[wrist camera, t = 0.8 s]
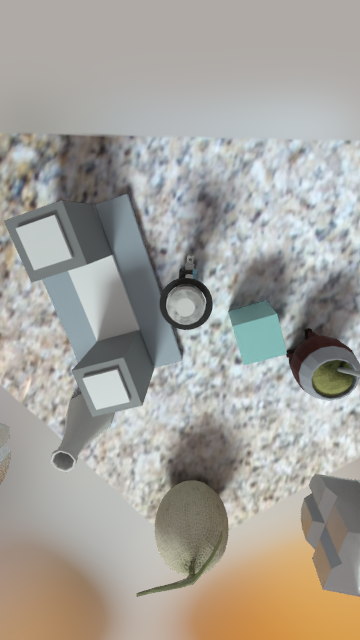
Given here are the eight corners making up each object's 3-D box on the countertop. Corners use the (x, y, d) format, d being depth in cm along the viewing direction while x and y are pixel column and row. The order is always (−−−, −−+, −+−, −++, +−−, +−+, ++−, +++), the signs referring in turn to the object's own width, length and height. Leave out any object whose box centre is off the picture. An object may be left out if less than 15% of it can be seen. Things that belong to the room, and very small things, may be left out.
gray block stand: (128, 194, 36) (101, 185, 26) (182, 357, 42) (176, 399, 33) (25, 230, 38) (-36, 234, 29) (90, 380, 45) (59, 426, 35)
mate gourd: (285, 377, 42) (328, 456, 28) (279, 324, 40) (321, 381, 26) (342, 368, 41) (415, 446, 27) (338, 313, 39) (416, 367, 25)
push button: (170, 253, 38) (159, 264, 29) (213, 256, 38) (216, 268, 28) (167, 304, 40) (157, 330, 31) (208, 307, 40) (210, 335, 30)
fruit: (243, 489, 49) (259, 599, 35) (192, 525, 52) (189, 639, 38) (196, 450, 47) (193, 550, 33) (147, 489, 50) (125, 595, 36)
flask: (124, 409, 46) (103, 459, 36) (98, 439, 48) (72, 494, 38) (84, 382, 45) (52, 425, 35) (59, 414, 47) (23, 463, 37)
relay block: (232, 326, 34) (228, 311, 40) (243, 365, 36) (238, 345, 41) (277, 313, 33) (266, 300, 39) (286, 354, 35) (275, 335, 41)
